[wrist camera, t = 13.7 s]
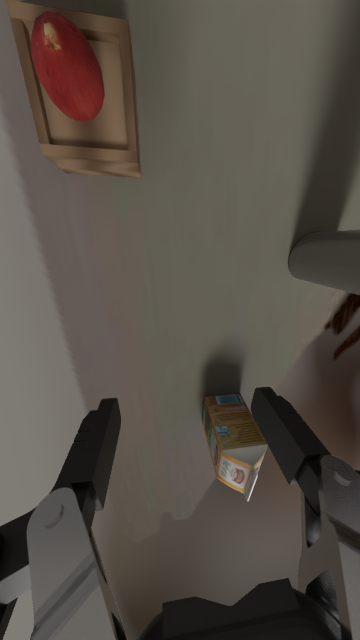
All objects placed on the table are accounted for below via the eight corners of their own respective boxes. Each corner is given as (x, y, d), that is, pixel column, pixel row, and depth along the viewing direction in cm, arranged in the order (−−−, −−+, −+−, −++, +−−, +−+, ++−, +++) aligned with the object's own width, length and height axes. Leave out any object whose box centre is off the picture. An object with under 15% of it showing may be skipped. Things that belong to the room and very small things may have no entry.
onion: (45, 80, 19) (-24, -20, 12) (91, 52, 18) (49, -68, 11) (79, 146, 21) (40, 98, 14) (121, 123, 21) (102, 61, 14)
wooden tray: (134, 72, 23) (128, 20, 17) (141, 177, 27) (137, 161, 22) (43, 60, 21) (5, -1, 16) (66, 172, 26) (42, 154, 20)
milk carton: (234, 417, 55) (270, 497, 38) (202, 421, 54) (223, 505, 37) (239, 393, 51) (282, 471, 33) (204, 396, 49) (230, 479, 32)
